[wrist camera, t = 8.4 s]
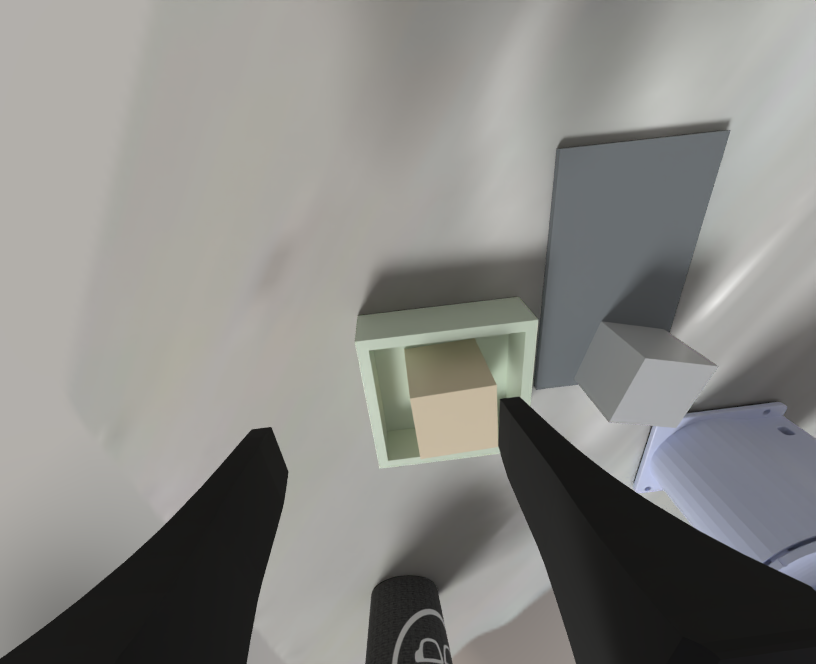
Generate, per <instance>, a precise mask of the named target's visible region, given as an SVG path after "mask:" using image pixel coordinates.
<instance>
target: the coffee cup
mask: <svg viewBox="0 0 816 664" xmlns="http://www.w3.org/2000/svg"><path fill="white" fill-rule="evenodd" d="M365 664H453V663H452V658H451V654H450V649H449V644H448V639H447V634H446V629H445V624H444V620H443V615H442V610H441V605H440V600H439V595H438V591H437V587H436V585H435V584H434V583H433V582H432V581H430V580H428V579H426V578H423V577H418V576H400V577H395V578H391V579H388V580H386V581H384V582H382V583H380V584H379V585H378V586H376V587H375V589H374V590H373V592H372V595H371V606H370V617H369V629H368V640H367V651H366V663H365Z"/></svg>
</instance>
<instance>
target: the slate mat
mask: <svg viewBox="0 0 816 664" xmlns="http://www.w3.org/2000/svg"><path fill="white" fill-rule="evenodd" d="M729 133H730V130H722V131H713V132H704V133H695V134H686V135H677V136H667V137H658V138H649V139H640V140H631V141H622V142H613V143H604V144H595V145H586V146H577V147H568V148H559V149H557V150H556V161H555V171H554V182H553V192H552V202H551V213H550V223H549V234H548V244H547V254H546V265H545V275H544V286H543V296H542V306H541V317H540V327H539V338H538V348H537V358H536V369H535V379H534V387H535V389H536V390H538V389H546V388H554V387H562V386H570V385H578V383H577V382H576V381H575V379H574V378H575V376H576V373H577V371H578V369H579V367H580V365H581V363H582V361H583V359H584V357H585V354H586V352H587V350H588V348H589V346H590V344H591V342H592V340H593V337H594V335H595V333H596V331H597V329H598V327H599V325H600V323H601V321H603V322H611V323H619V324H627V325H635V326H643V327H651V328H659V329H664V330H666V331H667V332H669V333H670V329H671V326H672V323H673V319H674V316H675V313H676V309H677V306H678V303H679V299H680V296H681V293H682V289H683V286H684V283H685V280H686V276H687V273H688V270H689V266H690V263H691V260H692V256H693V253H694V250H695V246H696V243H697V240H698V236H699V233H700V230H701V226H702V223H703V220H704V216H705V213H706V210H707V206H708V203H709V200H710V197H711V193H712V190H713V187H714V183H715V180H716V177H717V173H718V170H719V167H720V163H721V160H722V157H723V153H724V150H725V147H726V143H727V140H728V137H729Z"/></svg>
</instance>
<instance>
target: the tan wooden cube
mask: <svg viewBox="0 0 816 664" xmlns="http://www.w3.org/2000/svg"><path fill="white" fill-rule="evenodd" d="M404 353H405V362H406V370H407V378H408V386H409V395H410V402H411V407H412V413H413V419H414V424H415V430H416V436H417V442H418V447H419V453H420V459H425V458H431V457H438V456H444V455H451V454H457V453H463V452H470V451H476V450H482V449H489V448H495V447H498V416H497V384H496V382H495V380H494V378H493V376H492V374H491V372H490V370H489V367H488V365H487V363H486V361H485V359H484V357H483V355H482V353H481V351H480V348H479V346H478V344H477V342H476V340H475V338H473V339H466V340H460V341H454V342H447V343H441V344H435V345H428V346H422V347H416V348H409V349H404Z"/></svg>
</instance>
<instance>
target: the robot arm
mask: <svg viewBox="0 0 816 664" xmlns="http://www.w3.org/2000/svg"><path fill="white" fill-rule="evenodd" d="M786 410H787V406H786V405H785V404H783V403H782V402H773V403H766V404H758V405H750V406H742V407H734V408H726V409H718V410H710V411H702V412H694V413H686V415H685V416H684V418H683V419H682V420H681V422H680V423H679V425H678V426H677V428H671V427H659V426H652V430H651V433H650V436H649V439H648V442H647V445H646V448H645V451H644V454H643V457H642V461H641V464H640V467H639V470H638V473H637V476H636V479H635V482H634V485H633V489H634V490H635V491H636V492H637V493H636V492H635V491H633V490H632V489H630V488H629V487H627V486H626V485H624V484H623V483H621V482H620V481H619V480H617V479H616V478H614V477H613V476H611V475H610V474H609V473H607V472H606V471H605V470H603V469H602V468H601V467H599V466H598V465H597V464H596V463H594V462H593V461H592V460H591V459H589V458H588V457H587V456H585V455H584V454H583V453H582V452H581V451H579V450H578V449H577V448H576V447H575V446H573V445H572V444H571V443H570V442H569V441H568V440H566V439H565V438H564V437H563V436H562V435H561V434H559V433H558V432H557V431H556V430H555V429H554V428H553V427H552V426H550V425H549V424H548V423H547V422H546V421H545V420H544V419H543V418H542V417H541V416H540V415H539V414H538V413H536V412H535V411H534V410H533V409H532V408H531V407H530V406H529V405H528V404H527V403H526V402H525V401H524V400H523V399H522V398H520V397H511V398H503V399H500V412H499V438H498V447H499V450H500V453H501V457H502V460H503V464H504V467H505V470H506V473H507V476H508V479H509V481H510V484H511V486H512V488H513V491H514V493H515V495H516V498H517V500H518V502H519V505H520V507H521V509H522V511H523V514H524V516H525V518H526V521H527V523H528V525H529V528H530V530H531V532H532V535H533V537H534V539H535V541H536V544H537V546H538V549H539V551H540V554H541V556H542V559H543V562H544V564H545V567H546V570H547V573H548V576H549V579H550V582H551V585H552V588H553V591H554V594H555V597H556V600H557V603H558V607H559V609H560V613H561V616H562V619H563V622H564V625H565V629H566V632H567V635H568V638H569V641H570V645H571V648H572V651H573V655H574V658H575V661H576V664H816V438H814V437H813V436H811V435H810V434H809V433H807V432H806V431H804V430H803V429H801V428H800V427H798V426H797V425H796V424H794V423H793V422H791V421H790V420H788V419H787V418H785V417H784V416H783V415H784V413H785V411H786ZM287 478H288V470H287V467H286V464H285V462H284V459H283V456H282V454H281V451H280V449H279V446H278V443H277V441H276V438H275V435H274V433H273V430H272V428H271V427H268V428H260V429H252V430H251V431H250V432H249V433H248V434H247V435H246V437H245V438H244V439H243V440H242V441H241V442H240V443H239V445H238V446H237V447H236V448H235V449H234V450H233V452H232V453H231V454H230V455H229V456H228V457H227V459H226V460H225V461H224V462H223V463H222V464H221V465H220V467H219V468H218V469H217V470H216V471H215V472H214V473H213V474H212V476H211V477H210V478H209V479H208V480H207V481H206V482H205V483H204V485H203V486H202V487H201V488H200V489H199V490H198V491H197V492H196V493H195V494H194V495H193V496H192V497H191V498H190V499H189V500H188V501H187V502H186V504H185V505H184V506H183V507H182V508H181V509H180V510H179V511H178V512H177V513H176V514H175V515H174V516H173V517H172V518H171V519H170V520H169V521H168V522H167V523H166V524H165V525H164V526H163V527H162V528H161V529H160V530H159V531H158V532H157V533H156V534H155V535H154V536H153V537H152V538H151V539H149V540H148V541H147V542H146V543H145V544H144V545H143V546H142V547H141V548H140V549H138V550H137V551H136V552H135V553H134V554H133V555H132V556H131V557H130V558H128V559H127V560H126V561H125V562H124V563H123V564H122V565H120V566H119V567H118V568H117V569H116V570H114V571H113V572H112V573H111V574H110V575H108V576H107V577H106V578H105V579H104V580H102V581H101V582H100V583H99V584H98V585H96V586H95V587H94V588H93V589H92V590H90V591H89V592H88V593H87V594H86V595H84V596H83V597H82V598H81V599H80V600H78V601H77V602H76V603H74V604H73V605H72V606H71V607H69V608H68V609H67V610H65V611H64V612H63V613H62V614H60V615H59V616H58V617H56V618H55V619H54V620H53V621H51V622H50V623H49V624H47V625H46V626H45V627H44V628H42V629H40V630H39V631H38V632H37V633H35V634H34V635H32V636H31V637H30V638H29V639H27V640H26V641H24V642H23V643H22V644H20V645H19V646H17V647H16V648H15V649H13V650H12V651H11V652H9V653H8V654H7V655H5V656H4V657H2V658H1V659H0V664H247V657H248V651H249V645H250V639H251V634H252V629H253V623H254V618H255V613H256V607H257V602H258V597H259V593H260V589H261V585H262V581H263V577H264V574H265V570H266V567H267V563H268V560H269V556H270V552H271V549H272V545H273V542H274V538H275V534H276V531H277V527H278V524H279V520H280V516H281V512H282V509H283V505H284V499H285V493H286V486H287ZM661 490H664V491H665V492H666V494H667V495H668V496H669V497H670V499H671V500H672V501H673V502H674V504H675V505H676V506H677V507H678V508H679V510H680V511H681V512H682V513H683V515H684V516H685V517H686V518H687V520H688V521H689V522H690V523H691V525H692V526H693V527H692V526H690V525H688V524H687V523H685V522H683V521H682V520H680V519H678V518H677V517H675V516H673V515H672V514H670V513H668V512H667V511H665V510H663V509H661V508H660V507H658V506H656V505H655V504H653V503H652V502H650V501H648V500H647V499H645V498H644V497H642V496H641V495H639V494H638V493H645V492H653V491H661Z"/></svg>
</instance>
